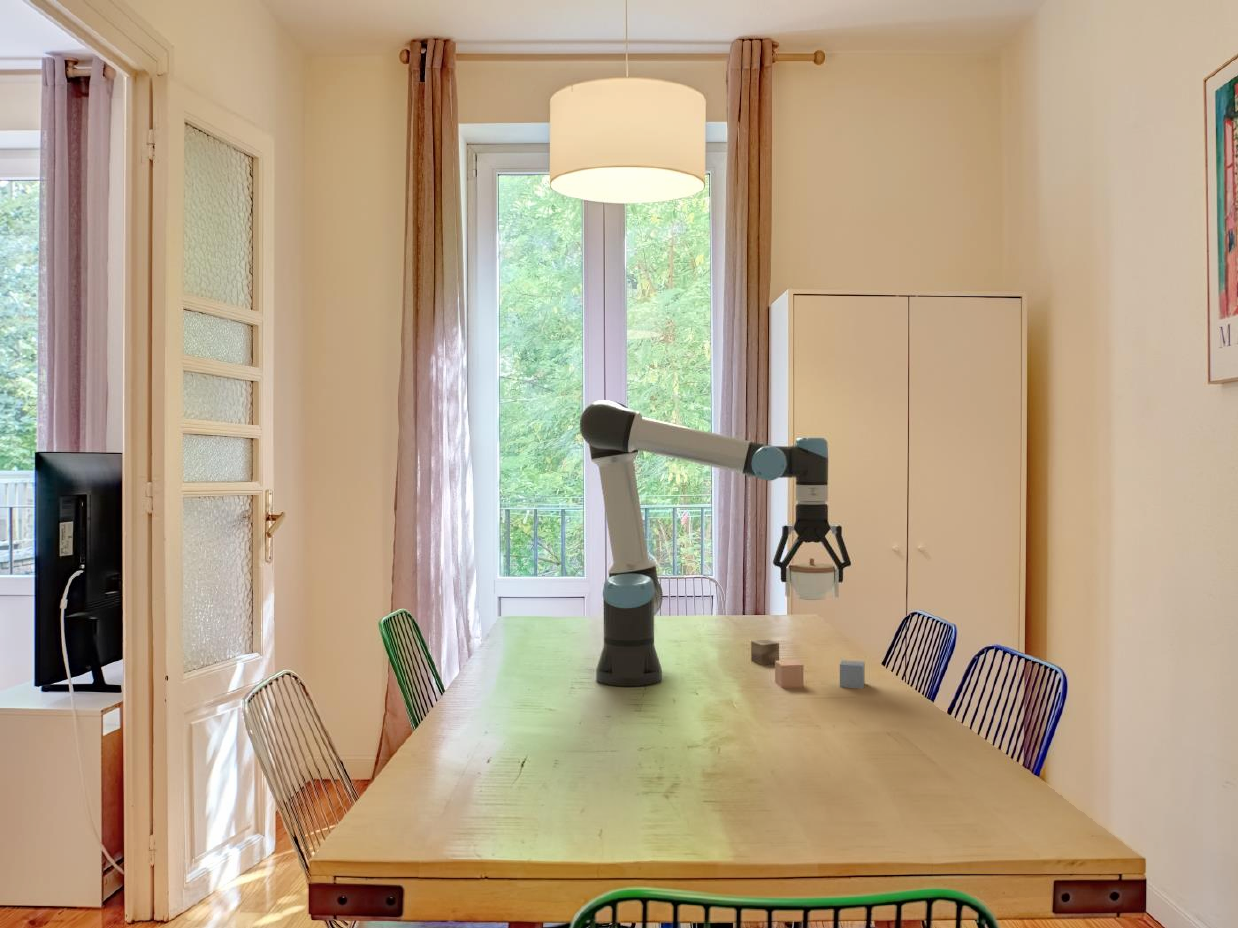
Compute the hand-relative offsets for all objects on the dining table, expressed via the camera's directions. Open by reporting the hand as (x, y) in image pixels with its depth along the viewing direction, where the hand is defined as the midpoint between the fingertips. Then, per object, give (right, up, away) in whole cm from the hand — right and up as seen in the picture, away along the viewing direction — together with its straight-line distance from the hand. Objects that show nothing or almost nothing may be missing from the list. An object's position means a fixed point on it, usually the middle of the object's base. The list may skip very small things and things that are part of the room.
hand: (811, 596), depth 233 cm
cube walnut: (-9, -18, +11) cm, 23 cm away
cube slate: (+6, -18, -13) cm, 23 cm away
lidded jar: (0, -1, 0) cm, 1 cm away
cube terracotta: (-7, -18, -12) cm, 23 cm away
